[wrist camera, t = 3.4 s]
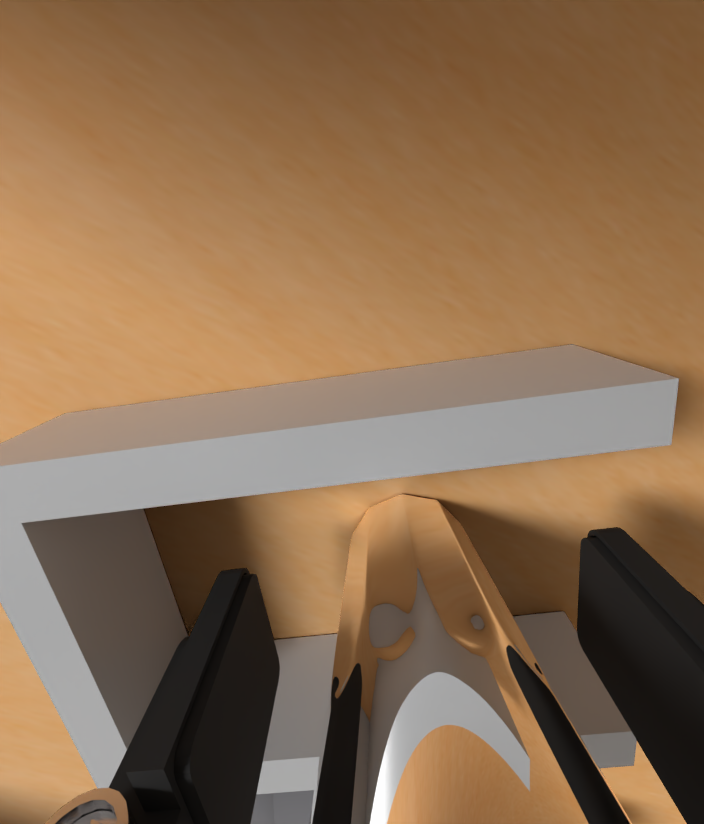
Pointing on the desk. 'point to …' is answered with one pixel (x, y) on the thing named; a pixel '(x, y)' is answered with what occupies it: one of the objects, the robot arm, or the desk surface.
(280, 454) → the grey shelf rack
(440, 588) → the milkshake
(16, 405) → the desk surface
